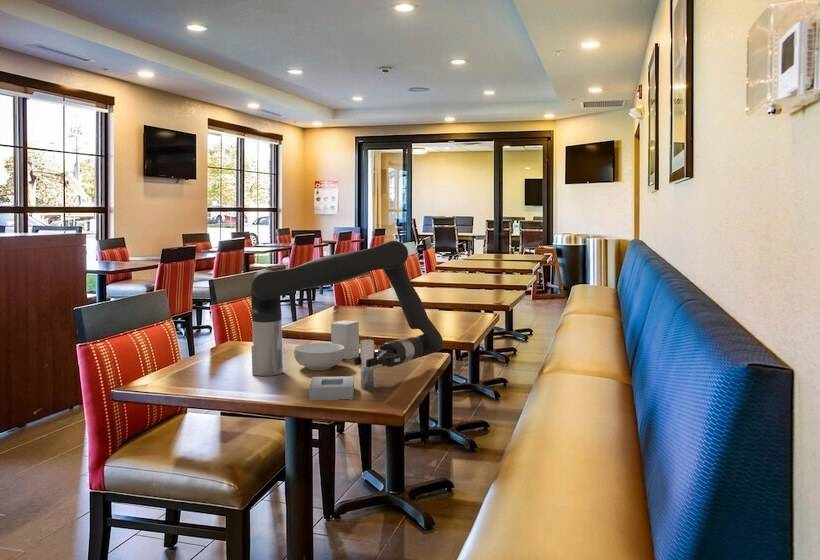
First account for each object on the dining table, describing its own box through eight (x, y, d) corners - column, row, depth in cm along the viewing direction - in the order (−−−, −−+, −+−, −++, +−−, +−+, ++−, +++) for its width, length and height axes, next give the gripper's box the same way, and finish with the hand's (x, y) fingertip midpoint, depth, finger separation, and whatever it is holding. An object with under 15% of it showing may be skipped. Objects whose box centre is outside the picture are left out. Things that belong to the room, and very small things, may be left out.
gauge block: (309, 400, 179) (308, 387, 179) (312, 388, 191) (312, 376, 191) (352, 399, 180) (352, 387, 179) (353, 387, 192) (353, 376, 191)
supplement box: (360, 356, 234) (359, 321, 233) (347, 360, 228) (346, 324, 227) (343, 353, 238) (343, 319, 237) (330, 357, 232) (330, 322, 231)
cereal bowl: (349, 372, 211) (348, 350, 210) (297, 375, 206) (297, 353, 206) (339, 360, 227) (339, 340, 226) (291, 363, 223) (291, 343, 222)
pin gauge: (360, 389, 190) (360, 342, 188) (360, 385, 194) (360, 339, 192) (374, 389, 190) (374, 342, 189) (374, 385, 194) (373, 339, 193)
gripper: (379, 338, 206) (342, 347, 193) (415, 343, 198) (380, 353, 184) (379, 361, 207) (343, 371, 193) (415, 367, 199) (380, 379, 185)
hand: (361, 362), depth 189 cm, fingers closed on pin gauge, 4 cm apart
